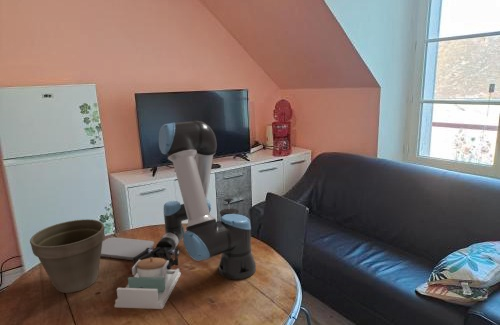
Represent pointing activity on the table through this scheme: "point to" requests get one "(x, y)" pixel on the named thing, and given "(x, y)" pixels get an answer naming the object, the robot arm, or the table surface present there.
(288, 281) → the table surface
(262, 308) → the table surface
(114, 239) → the tablet
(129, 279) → the pusher plate
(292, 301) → the table surface
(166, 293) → the pusher lane
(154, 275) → the lidded jar
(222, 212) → the french press
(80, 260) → the plant pot
